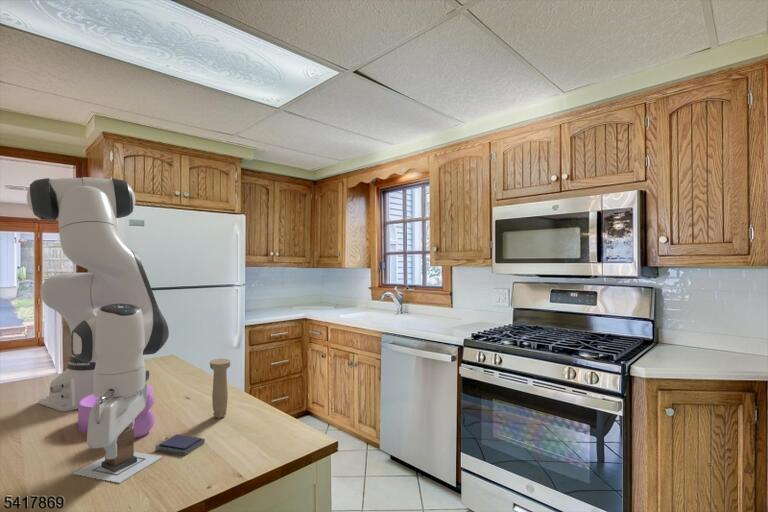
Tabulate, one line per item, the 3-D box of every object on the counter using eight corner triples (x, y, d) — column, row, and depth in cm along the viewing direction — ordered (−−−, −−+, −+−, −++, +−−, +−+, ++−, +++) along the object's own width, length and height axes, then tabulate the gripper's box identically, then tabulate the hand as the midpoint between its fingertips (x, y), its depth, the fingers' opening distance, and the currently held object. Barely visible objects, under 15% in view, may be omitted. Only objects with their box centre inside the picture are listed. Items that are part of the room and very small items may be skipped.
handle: (215, 422, 101) (215, 365, 101) (206, 415, 106) (207, 360, 106) (233, 417, 104) (233, 362, 105) (224, 410, 109) (224, 357, 109)
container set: (69, 423, 101) (69, 373, 101) (133, 405, 113) (134, 360, 114) (107, 450, 87) (107, 391, 87) (176, 426, 99) (176, 375, 99)
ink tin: (155, 450, 86) (155, 444, 86) (176, 438, 92) (176, 433, 92) (184, 455, 84) (184, 449, 84) (204, 443, 90) (204, 437, 90)
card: (72, 474, 77) (72, 472, 77) (119, 450, 86) (119, 449, 86) (119, 483, 74) (119, 482, 74) (162, 457, 83) (162, 456, 83)
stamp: (101, 467, 79) (101, 432, 79) (124, 456, 83) (124, 424, 83) (114, 472, 77) (114, 437, 77) (137, 461, 81) (137, 428, 81)
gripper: (116, 398, 71) (115, 474, 71) (152, 368, 91) (152, 427, 91) (76, 401, 69) (75, 478, 69) (122, 370, 89) (121, 430, 89)
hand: (119, 449), depth 80 cm, fingers open, 5 cm apart
